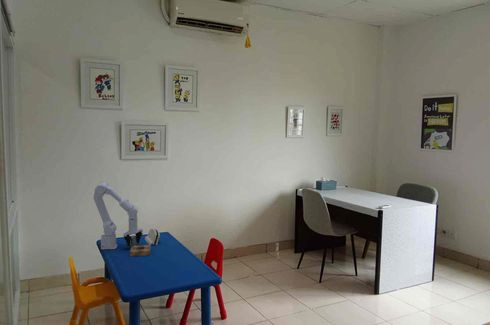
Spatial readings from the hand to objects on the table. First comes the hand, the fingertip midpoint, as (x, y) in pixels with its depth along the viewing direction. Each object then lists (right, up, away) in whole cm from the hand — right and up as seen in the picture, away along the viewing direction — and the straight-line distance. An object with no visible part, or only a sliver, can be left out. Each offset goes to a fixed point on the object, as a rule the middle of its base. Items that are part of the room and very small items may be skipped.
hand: (133, 244), depth 256 cm
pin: (0, -2, 0) cm, 2 cm away
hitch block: (+8, -3, -11) cm, 14 cm away
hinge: (+10, -1, +13) cm, 16 cm away
